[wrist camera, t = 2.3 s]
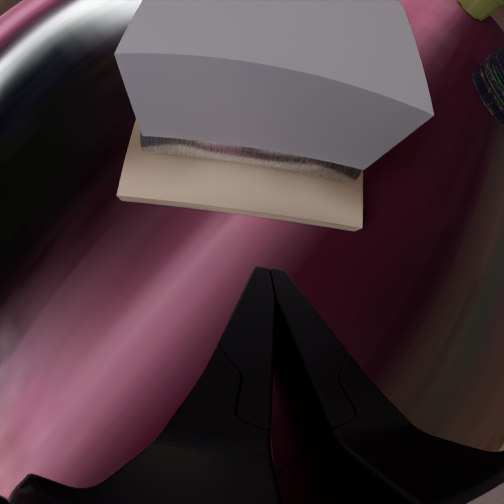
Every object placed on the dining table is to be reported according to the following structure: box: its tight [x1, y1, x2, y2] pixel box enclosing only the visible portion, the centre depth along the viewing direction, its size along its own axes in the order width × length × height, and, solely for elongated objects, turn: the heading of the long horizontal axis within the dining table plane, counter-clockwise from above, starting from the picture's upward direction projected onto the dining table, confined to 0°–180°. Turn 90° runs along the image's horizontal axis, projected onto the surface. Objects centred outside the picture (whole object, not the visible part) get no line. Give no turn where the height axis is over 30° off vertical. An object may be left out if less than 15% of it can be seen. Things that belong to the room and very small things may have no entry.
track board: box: [117, 119, 363, 231], centre depth 21 cm, size 21×16×1 cm
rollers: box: [140, 130, 362, 182], centre depth 19 cm, size 17×13×4 cm
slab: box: [114, 0, 434, 170], centre depth 13 cm, size 8×12×6 cm, turn 84°
